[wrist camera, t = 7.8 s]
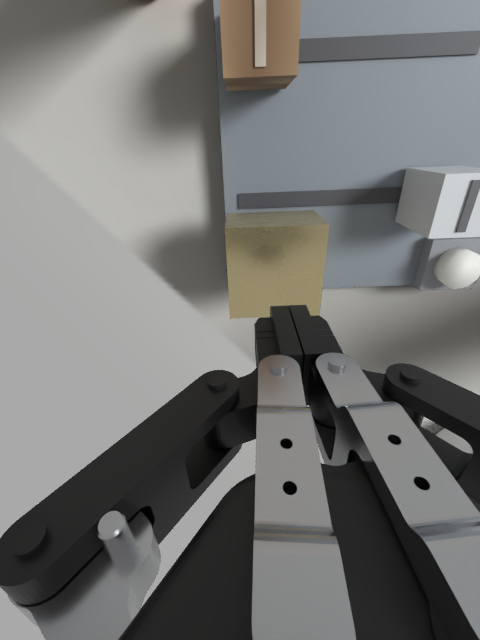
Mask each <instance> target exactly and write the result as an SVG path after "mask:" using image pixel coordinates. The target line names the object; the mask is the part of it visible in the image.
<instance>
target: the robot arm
mask: <svg viewBox="0 0 480 640" xmlns="http://www.w3.org/2000/svg"><path fill="white" fill-rule="evenodd" d="M255 356H256V367H257V368H256V369H255V370H254V371H253V372H252V373H251V374H249V375H246V376H243V377H240V378H237V377H236V376H235V375H234V374H233V373H231V372H228V371H225V370H214V371H210V372H207V373H205V374H203V375H202V376H201V377H199V378H198V379H197V380H195V381H194V382H193V383H192V384H190V385H189V386H188V387H187V388H185V389H184V390H183V391H181V392H180V393H179V394H178V395H176V396H175V397H174V398H173V399H171V400H170V401H169V402H168V403H166V404H165V405H164V406H162V407H161V408H160V409H158V410H157V411H156V412H155V413H153V414H152V415H151V416H150V417H148V418H147V419H146V420H145V421H143V422H142V423H141V424H139V425H138V426H137V427H136V428H134V429H133V430H132V431H130V432H129V433H128V434H127V435H125V436H124V437H123V438H122V439H120V440H119V441H118V442H117V443H115V444H114V445H113V446H111V447H110V448H109V449H108V450H106V451H105V452H104V453H102V454H101V455H100V456H99V457H97V458H96V459H95V460H93V461H92V462H91V463H90V464H88V465H87V466H86V467H85V468H84V469H82V470H81V471H80V472H78V473H77V474H76V475H75V476H73V477H72V478H71V479H69V480H68V481H67V482H65V483H64V484H63V485H62V486H60V487H59V488H58V489H57V490H55V491H54V492H53V493H51V494H50V495H49V496H48V497H46V498H45V499H44V500H43V501H41V502H40V503H39V504H37V505H36V506H35V507H34V508H32V509H31V510H30V511H29V512H27V513H26V514H25V515H23V516H22V517H21V518H20V519H19V520H17V521H16V522H15V523H14V524H13V525H11V527H10V528H9V529H8V530H7V531H6V532H5V533H4V534H3V536H2V537H1V538H0V587H1V588H2V589H3V590H4V591H5V592H6V593H7V594H8V597H9V599H10V601H11V602H12V603H13V604H14V605H15V606H16V607H17V608H18V609H19V610H20V611H21V612H22V613H23V614H24V615H25V616H26V617H27V618H28V619H29V620H30V621H31V622H33V623H34V624H35V625H37V626H38V627H39V628H40V630H41V632H42V634H43V636H44V638H45V639H46V640H480V395H477V394H475V393H473V392H471V391H469V390H467V389H465V388H462V387H460V386H458V385H456V384H454V383H452V382H449V381H447V380H445V379H443V378H441V377H439V376H437V375H434V374H432V373H430V372H428V371H426V370H424V369H421V368H419V367H417V366H414V365H410V364H394V365H391V366H389V367H388V368H387V370H386V373H385V374H381V373H375V372H369V371H365V370H362V369H361V368H360V367H359V365H358V364H357V362H356V361H355V360H354V359H352V358H351V357H349V356H347V355H344V354H343V352H342V350H341V348H340V346H339V345H338V343H337V341H336V339H335V337H334V336H333V333H332V331H331V330H330V327H329V325H328V323H327V321H326V320H324V319H323V318H322V317H320V316H319V315H315V316H311V315H310V313H309V311H308V308H307V306H306V305H288V306H287V305H285V306H270V317H267V318H259V319H258V320H257V322H256V323H255ZM306 405H309V406H310V407H306ZM424 417H426V418H428V419H429V420H431V421H433V422H435V423H436V424H438V425H440V426H442V427H443V428H445V429H447V430H449V431H451V432H452V433H454V434H456V435H458V436H459V437H461V438H463V439H464V440H465V441H467V442H468V443H469V445H470V446H471V448H472V450H473V454H471V453H466V452H463V451H462V450H460V449H458V448H456V447H455V446H453V445H451V444H450V443H448V442H446V441H445V440H443V439H441V438H439V437H438V436H436V435H434V434H433V433H431V432H429V431H428V430H426V429H424V428H423V427H421V423H422V420H423V418H424ZM254 439H256V473H255V474H254V475H251V476H249V477H247V478H245V479H244V480H242V481H241V482H239V483H238V484H236V485H235V486H234V487H233V488H231V489H230V491H229V492H228V493H227V494H226V495H225V496H224V497H223V498H222V500H221V501H220V502H219V504H218V505H217V506H216V508H215V509H214V511H213V512H212V513H211V515H210V516H209V517H208V519H207V520H206V521H205V523H204V524H203V525H202V527H201V528H200V529H199V531H198V532H197V534H196V535H195V536H194V537H193V539H192V540H191V542H190V543H189V544H188V546H187V547H186V548H185V550H184V551H183V552H182V554H181V555H180V556H179V558H178V559H177V561H176V562H175V563H174V565H173V566H172V567H171V569H170V570H169V571H168V573H167V574H166V576H165V577H164V578H163V579H162V581H161V582H160V584H159V585H158V586H157V588H156V589H155V590H154V592H153V593H152V594H151V596H150V597H149V598H148V600H147V601H146V602H145V604H144V605H143V606H142V603H143V600H144V597H145V595H146V593H147V591H148V590H149V588H150V586H151V585H152V583H153V581H154V580H155V578H156V575H157V574H158V571H159V567H160V561H161V560H160V559H161V555H160V549H159V546H158V545H159V544H160V543H161V541H162V540H163V539H164V538H165V537H166V535H167V534H168V533H169V532H170V531H171V530H172V529H173V527H174V526H175V525H176V524H177V523H178V522H179V520H180V519H181V518H182V517H183V516H184V515H185V513H186V512H187V511H188V510H189V509H190V507H192V505H193V504H194V503H195V502H196V501H197V499H198V498H199V497H200V496H201V495H202V494H203V493H204V491H205V490H206V489H207V488H208V487H209V486H210V484H211V483H212V482H213V481H214V479H215V478H216V477H217V476H218V475H219V474H220V473H221V472H222V470H223V469H224V468H225V467H226V466H227V465H228V463H229V462H230V461H231V460H232V459H233V458H234V456H235V455H236V454H237V453H238V452H239V450H240V449H241V446H242V443H245V442H248V441H251V440H254ZM317 444H318V446H317ZM318 447H319V449H320V452H321V455H322V458H323V460H324V463H325V464H322V463H320V457H319V452H318ZM141 606H142V608H141Z"/></svg>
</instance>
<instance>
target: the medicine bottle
mask: <svg viewBox="0 0 480 640" xmlns="http://www.w3.org/2000/svg"><path fill="white" fill-rule="evenodd" d="M435 435H436V436H438V437H439V438H441V439H443V440H445V441H446V442H448V443H450V444H451V445H453V446H455V447H456V448H458V449H460V450H462V451H463V452H466V453H471V454H473V450H472V448H471V446H470V445H469V443H468V442H467V441H465V440H464V439H463V438H461V437H459V436H458V435H456V434H454V433H452V432H451V431H449V430H447V429H445V428H443V429H442V430H441V431H439V432H438V433H437V434H435Z"/></svg>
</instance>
